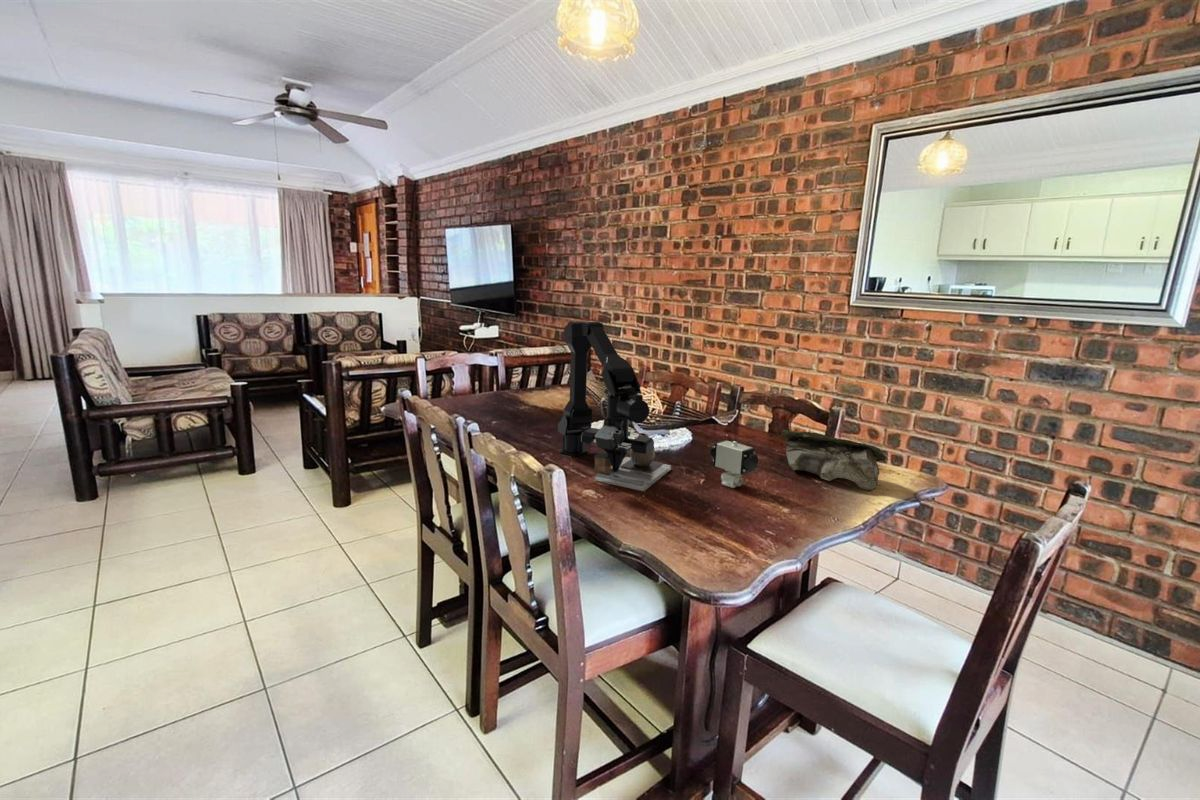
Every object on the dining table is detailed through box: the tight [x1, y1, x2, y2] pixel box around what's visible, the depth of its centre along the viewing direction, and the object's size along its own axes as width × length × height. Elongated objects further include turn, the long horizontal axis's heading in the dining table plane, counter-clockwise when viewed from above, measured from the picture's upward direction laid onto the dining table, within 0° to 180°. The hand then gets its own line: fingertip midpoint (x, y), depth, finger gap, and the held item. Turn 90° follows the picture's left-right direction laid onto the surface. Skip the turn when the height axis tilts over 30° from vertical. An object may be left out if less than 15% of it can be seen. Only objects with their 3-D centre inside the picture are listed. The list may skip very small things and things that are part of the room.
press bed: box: [594, 456, 672, 492], centre depth 147 cm, size 14×19×2 cm
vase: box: [629, 432, 656, 467], centre depth 150 cm, size 7×7×9 cm
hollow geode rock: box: [780, 429, 890, 491], centre depth 148 cm, size 28×13×15 cm
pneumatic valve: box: [709, 439, 759, 489], centre depth 140 cm, size 6×12×12 cm, turn 42°
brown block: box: [594, 451, 612, 475], centre depth 143 cm, size 3×4×5 cm
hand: (615, 471), depth 142 cm, fingers closed
